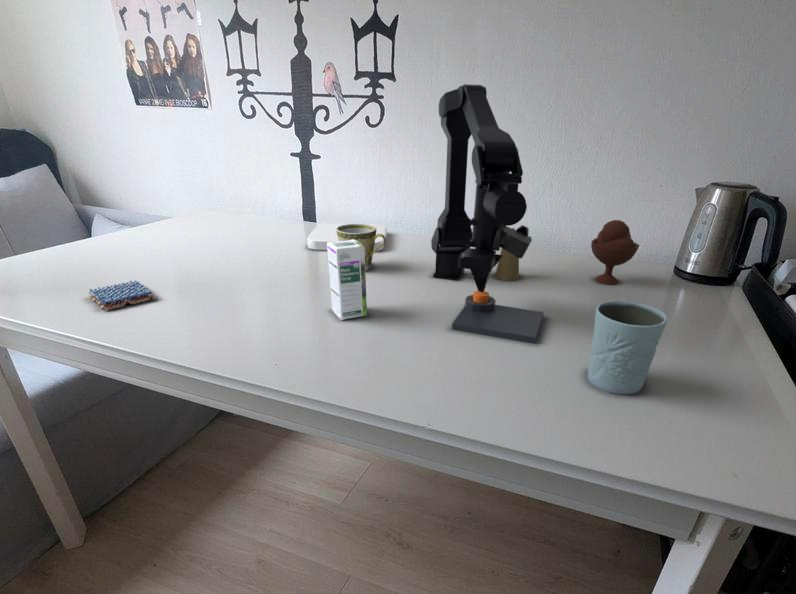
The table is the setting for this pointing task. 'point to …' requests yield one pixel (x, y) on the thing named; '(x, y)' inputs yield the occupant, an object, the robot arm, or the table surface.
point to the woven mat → (120, 295)
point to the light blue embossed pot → (624, 345)
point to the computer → (329, 234)
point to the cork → (507, 266)
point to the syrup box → (347, 278)
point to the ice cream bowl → (613, 248)
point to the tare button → (480, 297)
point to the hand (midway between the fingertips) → (481, 291)
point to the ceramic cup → (361, 238)
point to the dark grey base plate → (498, 321)
